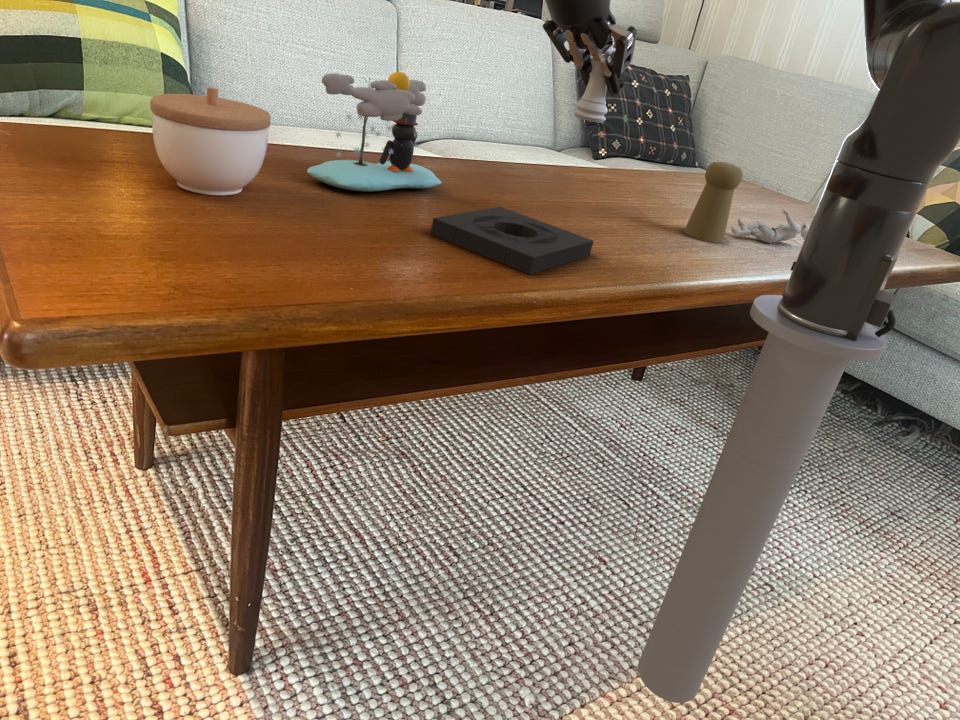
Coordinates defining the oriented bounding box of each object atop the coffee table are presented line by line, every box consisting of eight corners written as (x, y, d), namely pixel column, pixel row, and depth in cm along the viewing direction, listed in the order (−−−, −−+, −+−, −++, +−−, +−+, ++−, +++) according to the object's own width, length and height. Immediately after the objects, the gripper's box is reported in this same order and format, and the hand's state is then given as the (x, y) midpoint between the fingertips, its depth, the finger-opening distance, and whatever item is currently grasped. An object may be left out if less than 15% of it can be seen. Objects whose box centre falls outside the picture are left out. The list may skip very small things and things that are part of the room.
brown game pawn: (682, 235, 108) (706, 161, 104) (685, 226, 114) (707, 156, 109) (723, 245, 107) (749, 171, 102) (723, 237, 112) (748, 165, 108)
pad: (589, 256, 89) (594, 240, 88) (529, 275, 78) (533, 257, 77) (497, 221, 95) (500, 206, 95) (430, 234, 85) (432, 217, 84)
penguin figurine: (408, 173, 111) (424, 68, 104) (455, 194, 104) (474, 83, 98) (292, 174, 97) (301, 53, 91) (336, 198, 91) (349, 70, 84)
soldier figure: (722, 235, 118) (788, 220, 120) (732, 262, 116) (799, 247, 118) (742, 212, 110) (813, 196, 112) (754, 240, 109) (825, 224, 111)
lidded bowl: (205, 208, 78) (207, 101, 73) (126, 176, 82) (123, 74, 78) (288, 195, 88) (295, 100, 83) (214, 168, 93) (216, 77, 88)
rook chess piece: (595, 123, 95) (611, 57, 91) (566, 115, 97) (581, 50, 93) (611, 123, 98) (627, 60, 95) (583, 115, 100) (598, 53, 97)
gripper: (639, -44, 80) (666, 81, 94) (546, -56, 89) (582, 61, 102) (598, 1, 79) (631, 121, 92) (507, -15, 87) (549, 97, 101)
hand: (605, 89), depth 97 cm, fingers closed on rook chess piece, 3 cm apart
